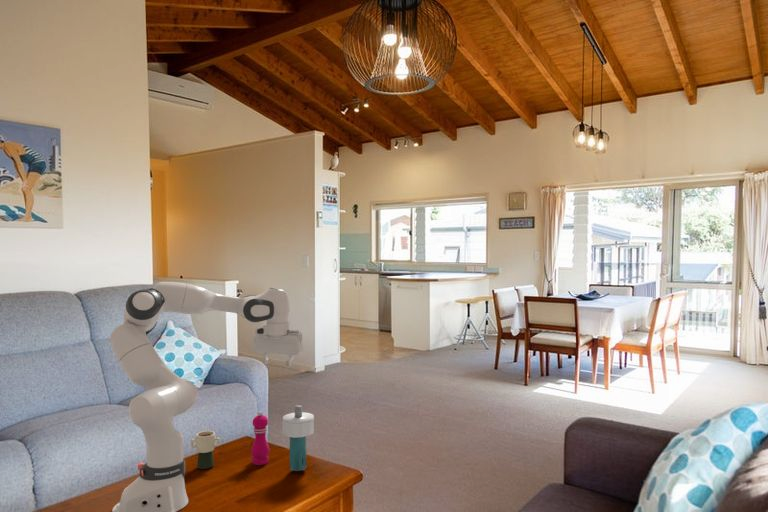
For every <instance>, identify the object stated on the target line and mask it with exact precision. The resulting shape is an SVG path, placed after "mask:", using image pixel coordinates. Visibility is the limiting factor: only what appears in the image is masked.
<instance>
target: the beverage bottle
mask: <svg viewBox="0 0 768 512" xmlns="http://www.w3.org/2000/svg"><path fill="white" fill-rule="evenodd" d="M307 459H308V458H307V436H305V437H297V438H293V437H289V469H290V470H291V471H295V472H301V471H304V470H305V469H306V468H307V463H308V461H307Z"/></svg>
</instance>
